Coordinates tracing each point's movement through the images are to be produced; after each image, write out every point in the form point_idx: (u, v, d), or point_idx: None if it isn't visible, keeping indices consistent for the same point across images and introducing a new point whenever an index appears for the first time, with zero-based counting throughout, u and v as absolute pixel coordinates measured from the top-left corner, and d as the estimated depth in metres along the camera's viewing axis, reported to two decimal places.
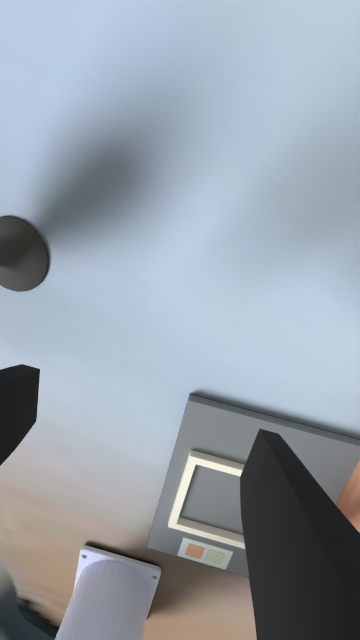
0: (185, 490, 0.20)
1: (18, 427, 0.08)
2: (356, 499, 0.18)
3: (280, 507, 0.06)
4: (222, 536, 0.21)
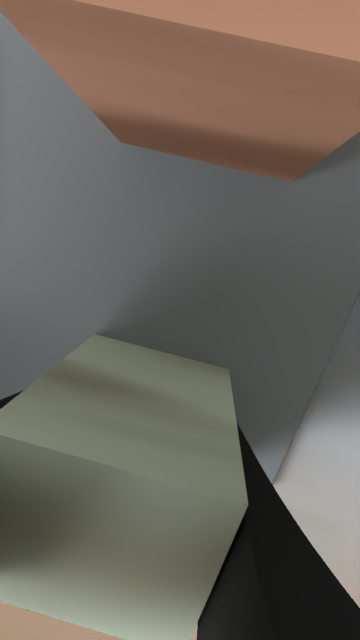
0: None
1: None
2: None
3: None
4: None
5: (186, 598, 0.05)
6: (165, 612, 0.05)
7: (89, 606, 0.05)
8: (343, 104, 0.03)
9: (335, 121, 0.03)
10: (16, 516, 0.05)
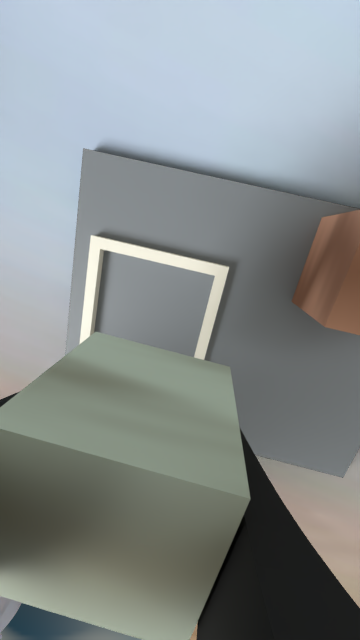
0: (92, 296, 0.15)
1: None
2: (313, 268, 0.13)
3: None
4: None
5: (188, 593, 0.05)
6: (167, 606, 0.05)
7: (92, 601, 0.05)
8: None
9: None
10: (19, 511, 0.05)
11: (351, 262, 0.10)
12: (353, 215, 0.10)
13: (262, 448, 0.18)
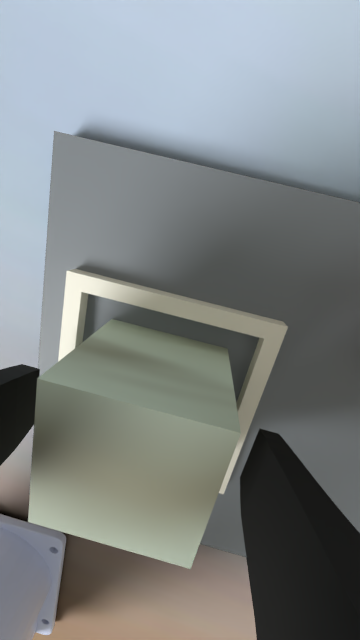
0: None
1: (18, 427, 0.08)
2: None
3: (280, 507, 0.06)
4: None
5: (194, 515, 0.06)
6: (177, 529, 0.06)
7: (117, 527, 0.07)
8: None
9: None
10: (62, 450, 0.06)
11: None
12: None
13: None
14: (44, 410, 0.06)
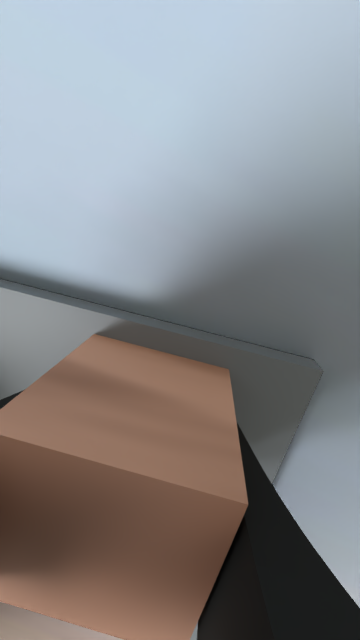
0: None
1: None
2: None
3: None
4: None
5: None
6: None
7: None
8: None
9: None
10: None
11: None
12: None
13: None
14: None
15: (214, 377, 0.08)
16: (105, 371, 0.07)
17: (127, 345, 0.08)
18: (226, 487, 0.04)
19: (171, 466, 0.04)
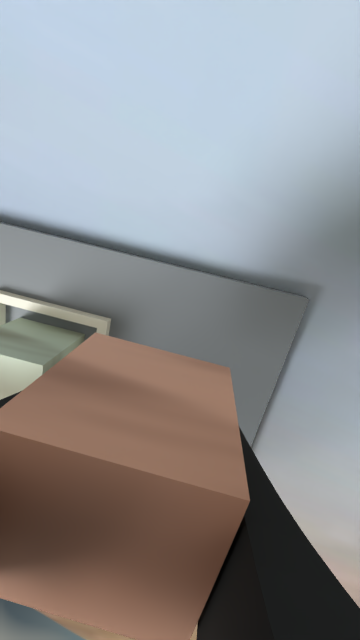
0: None
1: None
2: None
3: None
4: None
5: None
6: None
7: None
8: None
9: None
10: None
11: None
12: None
13: None
14: None
15: (215, 375, 0.08)
16: (106, 369, 0.07)
17: (128, 344, 0.08)
18: (228, 484, 0.04)
19: (172, 463, 0.04)
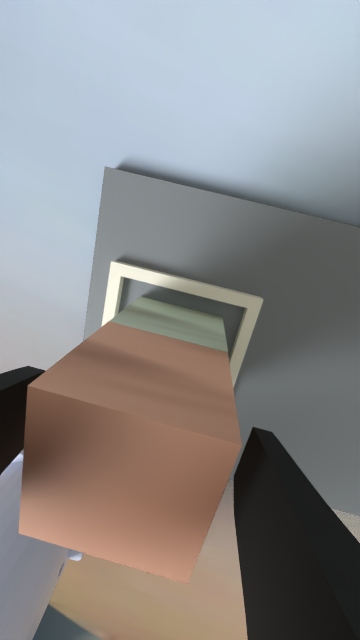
0: None
1: (24, 429, 0.08)
2: None
3: (271, 504, 0.06)
4: None
5: None
6: None
7: None
8: None
9: None
10: None
11: (24, 456, 0.06)
12: None
13: None
14: None
15: (215, 358, 0.09)
16: (122, 349, 0.08)
17: (138, 331, 0.09)
18: (224, 433, 0.05)
19: (180, 418, 0.06)
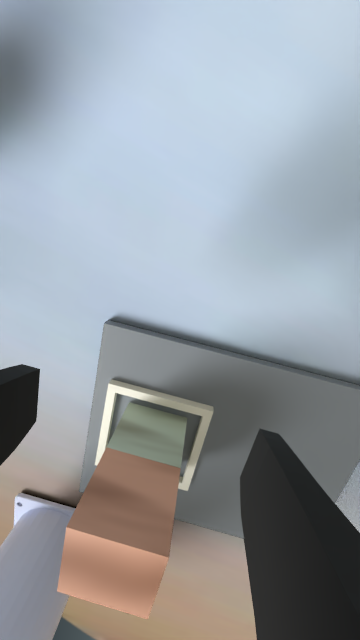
0: (108, 423, 0.20)
1: (18, 427, 0.08)
2: None
3: (280, 507, 0.06)
4: None
5: None
6: None
7: None
8: None
9: None
10: None
11: (62, 555, 0.12)
12: None
13: (240, 532, 0.22)
14: None
15: (170, 477, 0.14)
16: (113, 481, 0.13)
17: (124, 455, 0.15)
18: (161, 550, 0.11)
19: (140, 541, 0.11)
